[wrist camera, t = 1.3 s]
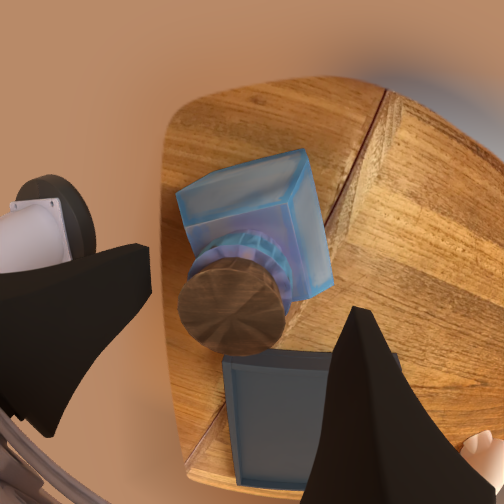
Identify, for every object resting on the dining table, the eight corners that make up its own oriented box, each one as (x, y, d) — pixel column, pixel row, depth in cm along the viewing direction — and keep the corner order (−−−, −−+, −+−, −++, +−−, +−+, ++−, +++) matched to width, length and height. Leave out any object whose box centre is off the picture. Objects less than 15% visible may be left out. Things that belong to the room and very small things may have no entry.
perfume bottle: (238, 254, 21) (180, 387, 10) (212, 171, 18) (101, 241, 8) (324, 237, 19) (348, 374, 8) (304, 148, 17) (318, 183, 6)
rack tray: (238, 475, 39) (236, 485, 37) (227, 343, 25) (221, 361, 22) (324, 480, 37) (323, 491, 35) (396, 352, 22) (402, 370, 20)
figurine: (509, 416, 26) (530, 478, 13) (492, 441, 30) (506, 495, 17) (460, 440, 29) (475, 509, 16) (448, 461, 33) (457, 520, 20)
